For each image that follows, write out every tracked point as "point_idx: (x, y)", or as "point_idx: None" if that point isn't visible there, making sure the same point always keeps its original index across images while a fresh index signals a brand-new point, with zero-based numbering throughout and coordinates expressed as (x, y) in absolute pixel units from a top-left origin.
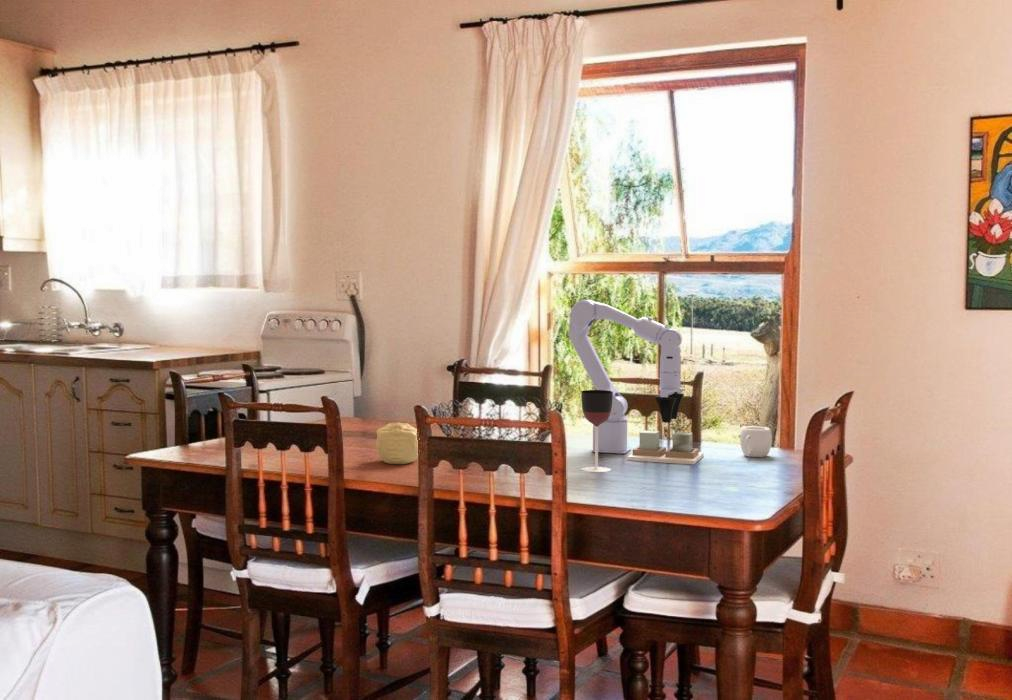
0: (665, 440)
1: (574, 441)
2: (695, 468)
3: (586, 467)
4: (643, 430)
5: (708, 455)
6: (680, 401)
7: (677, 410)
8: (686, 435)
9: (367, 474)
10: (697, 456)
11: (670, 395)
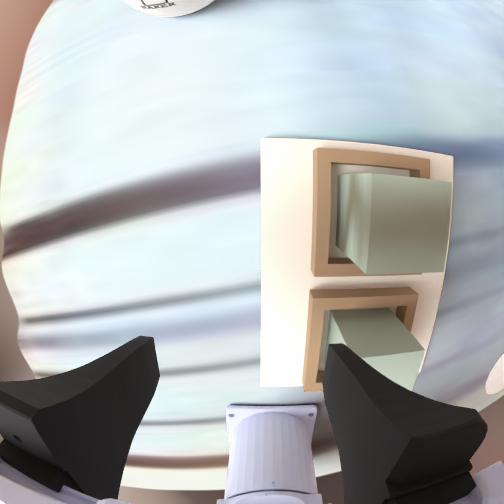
0: (24, 329)
1: (165, 489)
2: (489, 149)
3: (493, 390)
4: None
5: (228, 125)
6: (61, 384)
7: (125, 361)
8: (449, 197)
9: None
10: (368, 148)
11: (92, 488)
